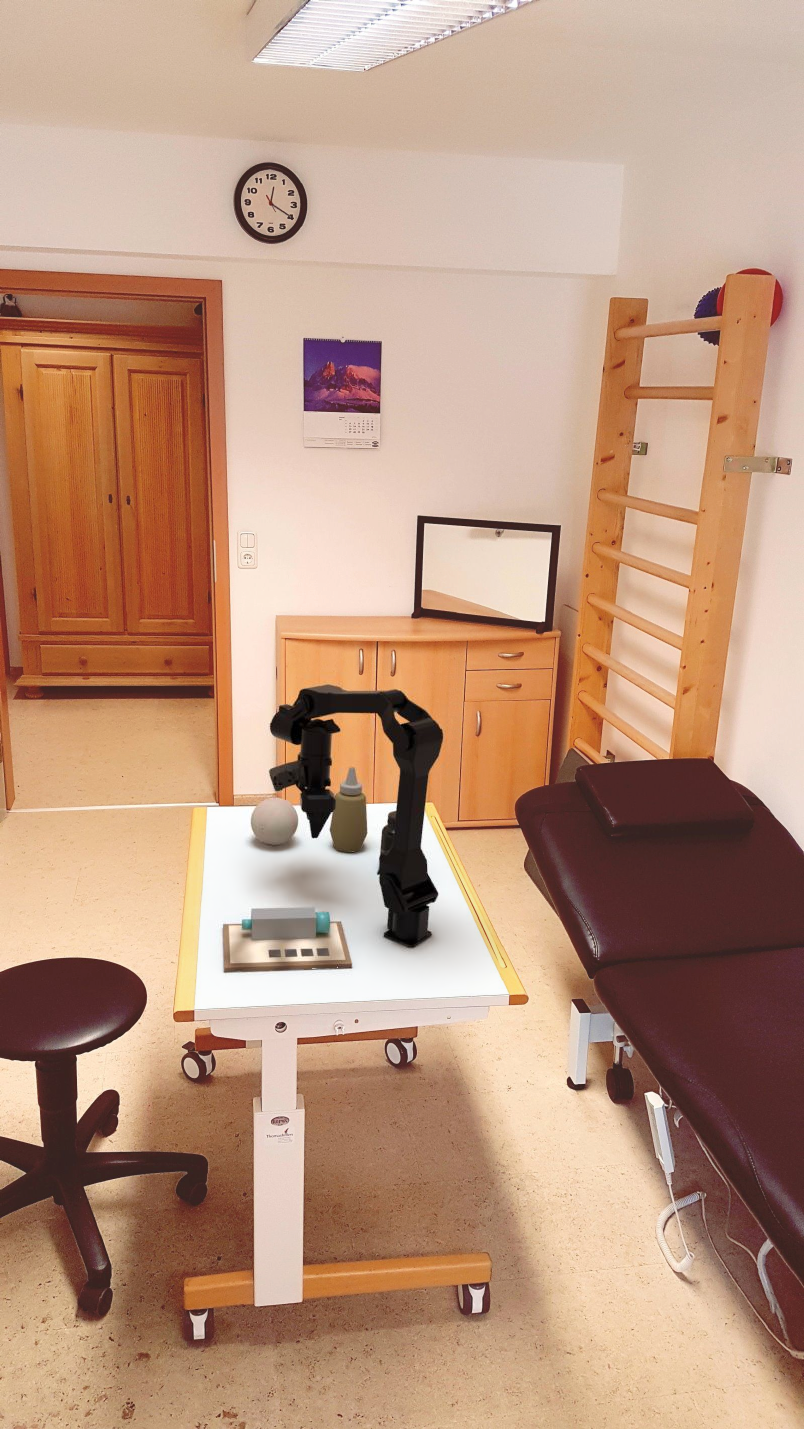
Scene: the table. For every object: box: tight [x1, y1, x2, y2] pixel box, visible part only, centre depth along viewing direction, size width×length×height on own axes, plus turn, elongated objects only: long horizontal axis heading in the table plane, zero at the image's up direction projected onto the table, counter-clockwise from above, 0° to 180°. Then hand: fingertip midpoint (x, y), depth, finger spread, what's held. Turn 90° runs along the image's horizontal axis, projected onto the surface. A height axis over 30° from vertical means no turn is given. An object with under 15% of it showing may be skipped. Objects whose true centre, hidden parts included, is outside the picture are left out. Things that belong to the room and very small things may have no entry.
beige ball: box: [250, 797, 299, 846], centre depth 216 cm, size 10×10×10 cm
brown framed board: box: [222, 920, 353, 973], centre depth 174 cm, size 21×15×1 cm
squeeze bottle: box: [329, 766, 368, 853], centre depth 215 cm, size 8×8×18 cm
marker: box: [241, 906, 331, 940], centre depth 177 cm, size 15×4×4 cm, turn 101°
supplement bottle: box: [379, 810, 396, 855], centre depth 207 cm, size 7×7×12 cm
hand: (312, 828), depth 195 cm, fingers open, 9 cm apart
